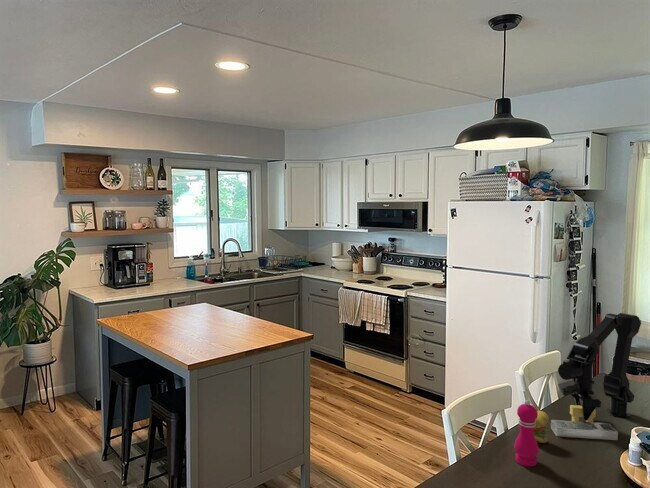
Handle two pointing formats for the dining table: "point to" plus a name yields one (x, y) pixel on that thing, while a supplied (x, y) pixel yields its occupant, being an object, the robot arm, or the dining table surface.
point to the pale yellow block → (580, 413)
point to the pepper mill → (526, 435)
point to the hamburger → (541, 427)
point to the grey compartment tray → (584, 429)
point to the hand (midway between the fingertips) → (582, 416)
